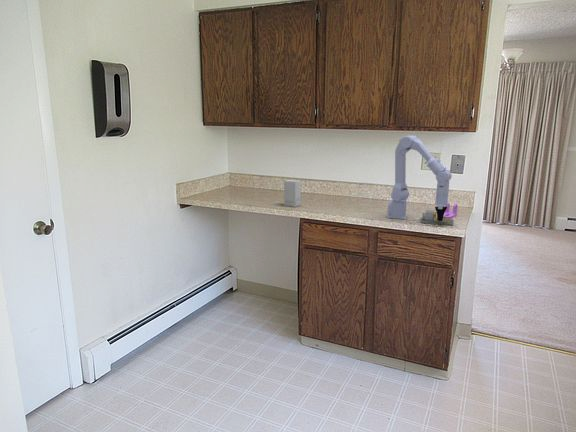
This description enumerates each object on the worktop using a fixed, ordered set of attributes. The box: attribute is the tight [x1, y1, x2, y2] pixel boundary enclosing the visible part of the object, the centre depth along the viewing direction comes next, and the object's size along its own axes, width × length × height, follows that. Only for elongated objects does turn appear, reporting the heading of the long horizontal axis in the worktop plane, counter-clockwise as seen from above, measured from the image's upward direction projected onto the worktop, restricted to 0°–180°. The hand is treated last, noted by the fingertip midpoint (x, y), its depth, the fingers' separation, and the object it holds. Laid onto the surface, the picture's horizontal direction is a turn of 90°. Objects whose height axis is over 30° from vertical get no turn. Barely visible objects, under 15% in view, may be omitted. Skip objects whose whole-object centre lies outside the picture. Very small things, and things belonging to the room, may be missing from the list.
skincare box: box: [283, 179, 302, 208], centre depth 263 cm, size 8×7×16 cm
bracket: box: [443, 203, 459, 219], centre depth 239 cm, size 13×6×7 cm, turn 145°
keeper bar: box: [434, 216, 454, 223], centre depth 222 cm, size 9×1×2 cm, turn 62°
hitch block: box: [420, 209, 435, 221], centre depth 229 cm, size 12×6×5 cm, turn 69°
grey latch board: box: [419, 216, 454, 227], centre depth 227 cm, size 16×12×4 cm
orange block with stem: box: [421, 211, 437, 219], centre depth 230 cm, size 7×5×3 cm
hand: (439, 220), depth 222 cm, fingers closed, pressing on keeper bar
